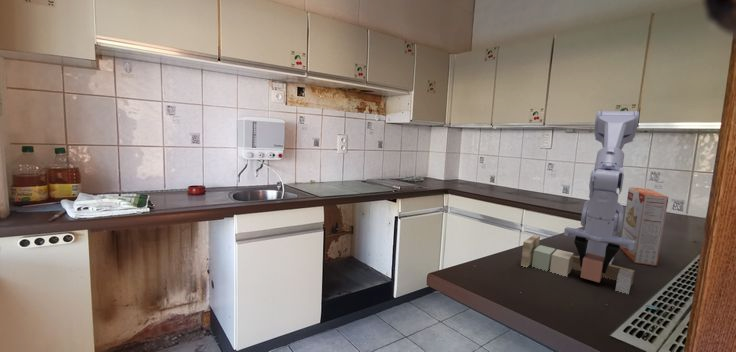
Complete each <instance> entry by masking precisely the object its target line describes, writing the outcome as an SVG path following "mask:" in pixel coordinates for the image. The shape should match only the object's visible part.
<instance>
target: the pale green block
mask: <svg viewBox="0 0 736 352" xmlns="http://www.w3.org/2000/svg"><path fill="white" fill-rule="evenodd" d="M555 251H556V248H554V247H549V246H545V245H542V244H541V245H540V244H539V246H538V247H537V248H536V249H535V250H534V253H533V261H532V264H531V268H533V267H535V268H534V269H537V268H538V270H540V269H542V270H541V271H544V270H545V271H544V272H547V271H548V270H549V269H550V266H551V258H552V254H553V253H554V252H555ZM549 271H550V270H549ZM549 271H548V272H549Z"/></svg>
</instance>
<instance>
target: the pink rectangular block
mask: <svg viewBox="0 0 736 352" xmlns="http://www.w3.org/2000/svg"><path fill="white" fill-rule="evenodd" d="M604 260H605V256H600V255H596V254H592V253H588V252H587V254H586V255H585V257H584V258H583V263H582V270H581V271H580V278H582V279H585V280H589V281H593V282H596V283H600V282H601V280H602V278H603V277H602V276H603V273H602V268H603V264H604Z"/></svg>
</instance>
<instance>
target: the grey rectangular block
mask: <svg viewBox="0 0 736 352" xmlns="http://www.w3.org/2000/svg"><path fill="white" fill-rule="evenodd" d="M632 274H633V272H632V271H628V270H624V269H620V271H619V273H618V277H617V281H616V283H615V284H616V285H615V291H614V292H616V291H619V292H618V293H620V292H622V293H621V294H623V293H626V294H625V295H627V294H628V295H629V293H630V291H631V286H632V285H631V280H632Z"/></svg>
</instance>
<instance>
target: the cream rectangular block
mask: <svg viewBox="0 0 736 352" xmlns="http://www.w3.org/2000/svg"><path fill="white" fill-rule="evenodd" d="M573 256H575V255H574V252H570V251H565V250H562V249H558V248H557V249H555V252H554V253H553V254H552V258H551V266H550V270H549V273H550V272H552V273H551V274H554V273H556V274H555V275H557V274H559V275H558V276H561V275H562V276H561V277H564V276H566V277H565V278H568V276H569V275H570V273H571V272H572V271H571V270H573V269H572V263H573ZM568 274H569V275H568Z"/></svg>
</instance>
